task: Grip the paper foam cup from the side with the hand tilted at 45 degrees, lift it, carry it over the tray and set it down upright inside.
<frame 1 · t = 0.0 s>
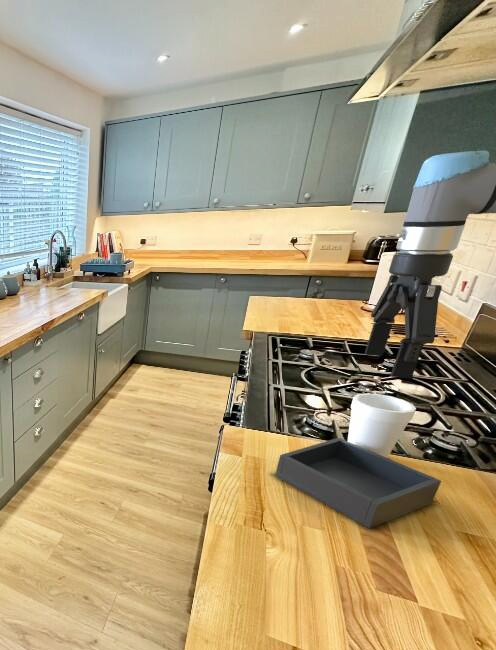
hand: (386, 365, 81), 22 cm above the table, tool pointing down, fingers open, 13 cm apart
foam cup: (364, 457, 90), on the table
tray: (348, 488, 81), on the table
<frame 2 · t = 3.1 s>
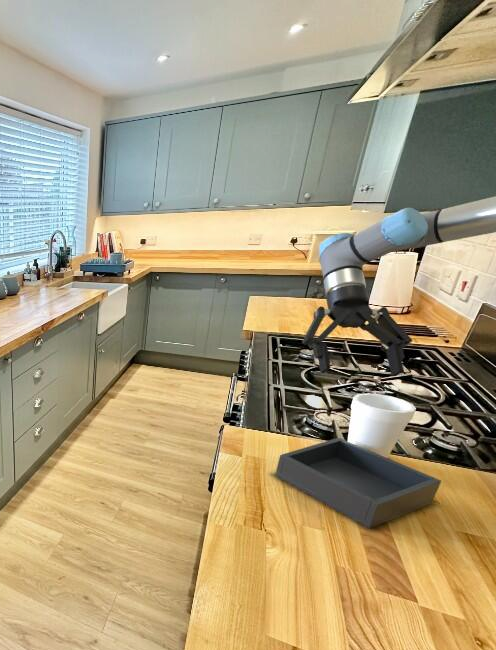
hand: (360, 372, 93), 16 cm above the table, tool tilted 45°, fingers open, 13 cm apart
nothing on the table moved.
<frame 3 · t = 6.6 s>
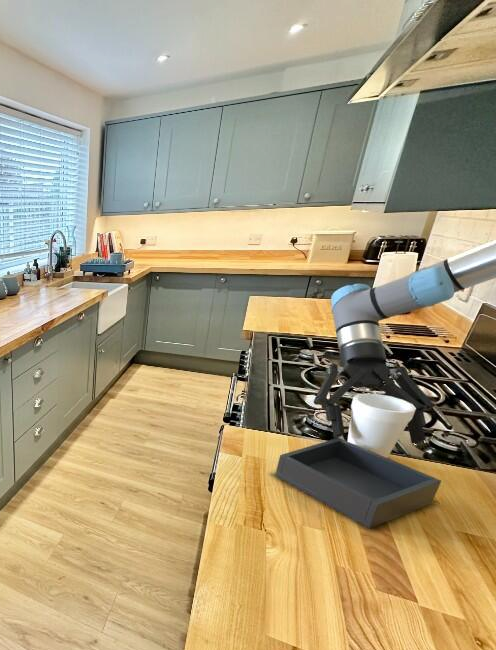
hand: (378, 438, 86), 6 cm above the table, tool tilted 45°, fingers open, 13 cm apart
nothing on the table moved.
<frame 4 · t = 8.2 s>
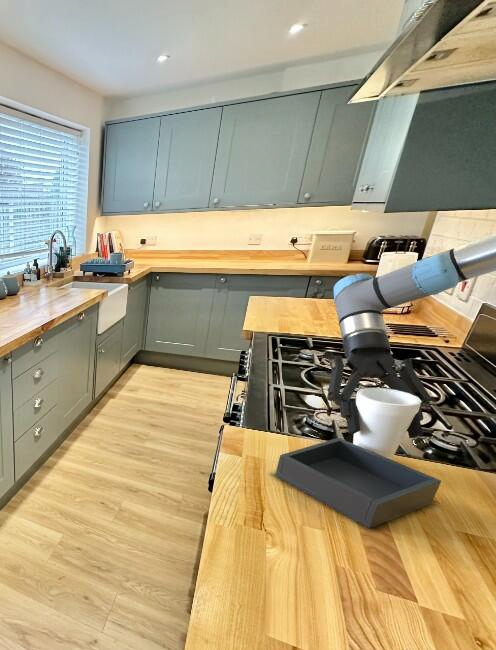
hand: (384, 434, 85), 7 cm above the table, tool tilted 45°, fingers closed on foam cup, 10 cm apart
foam cup: (372, 452, 89), point 2 cm above the table, touching gripper
when the fingers open (6 cm above the table, at t = 15.0 s): foam cup stays where it is, resting on tray.
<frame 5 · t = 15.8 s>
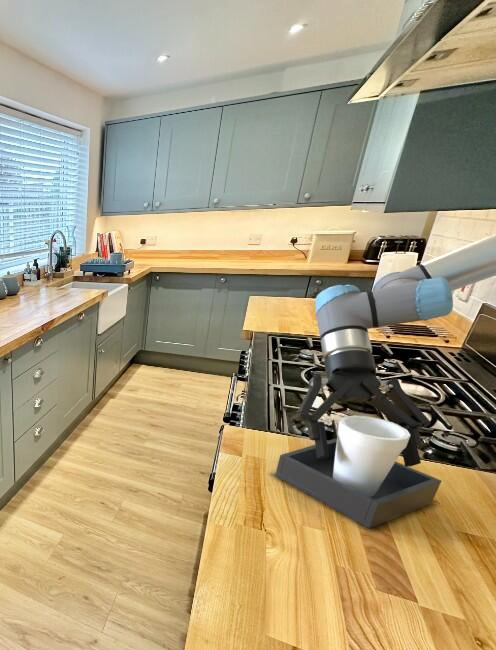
hand: (366, 461, 76), 8 cm above the table, tool tilted 45°, fingers open, 13 cm apart
foam cup: (353, 487, 80), point 1 cm above the table, touching tray
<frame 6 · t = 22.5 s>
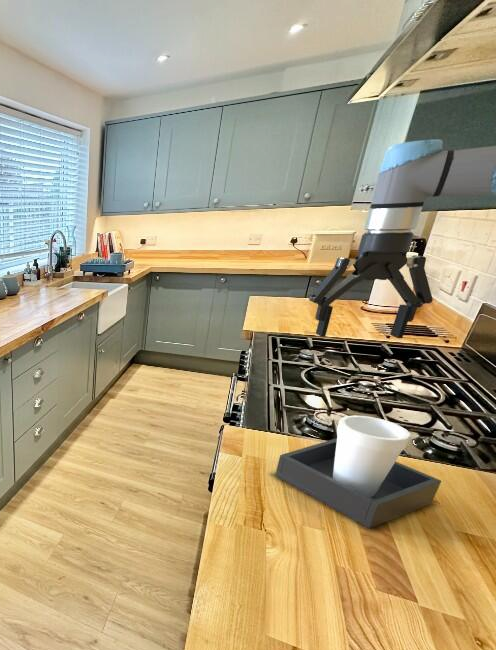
hand: (357, 335, 90), 25 cm above the table, tool pointing down, fingers open, 13 cm apart
nothing on the table moved.
at the end: foam cup inside the target area in the tray (0.9 cm from its centre), point 0.8 cm above the tray's base; foam cup tilted 0°; the gripper is holding nothing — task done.
